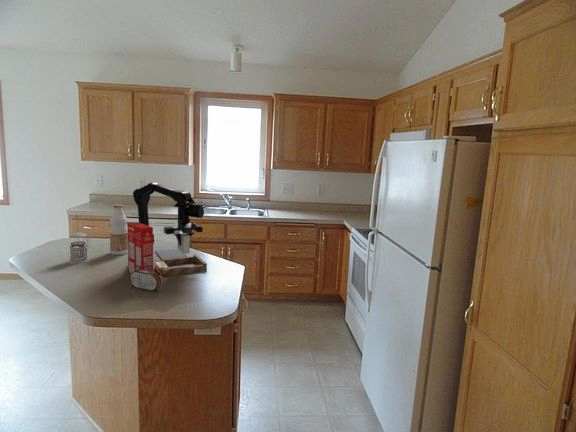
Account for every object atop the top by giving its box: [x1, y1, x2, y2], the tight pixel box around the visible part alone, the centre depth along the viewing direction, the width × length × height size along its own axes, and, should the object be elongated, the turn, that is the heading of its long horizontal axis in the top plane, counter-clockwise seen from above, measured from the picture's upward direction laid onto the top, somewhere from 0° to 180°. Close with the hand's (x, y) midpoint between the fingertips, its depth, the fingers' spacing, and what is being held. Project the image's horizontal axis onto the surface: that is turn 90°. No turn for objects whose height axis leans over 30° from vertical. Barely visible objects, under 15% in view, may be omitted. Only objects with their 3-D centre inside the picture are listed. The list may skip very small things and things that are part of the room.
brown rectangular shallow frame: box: [155, 254, 208, 277], centre depth 196 cm, size 22×18×4 cm
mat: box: [155, 248, 188, 260], centre depth 219 cm, size 14×18×1 cm
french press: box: [68, 214, 91, 265], centre depth 198 cm, size 10×12×25 cm
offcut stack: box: [154, 261, 169, 276], centre depth 191 cm, size 4×13×4 cm, turn 30°
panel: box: [176, 231, 191, 255], centre depth 195 cm, size 3×12×9 cm, turn 31°
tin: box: [129, 269, 163, 292], centre depth 165 cm, size 15×3×8 cm, turn 71°
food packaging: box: [126, 221, 154, 275], centre depth 179 cm, size 15×5×25 cm, turn 47°
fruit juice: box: [109, 204, 128, 256], centre depth 215 cm, size 9×9×28 cm
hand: (183, 245), depth 195 cm, fingers closed on panel, 3 cm apart
